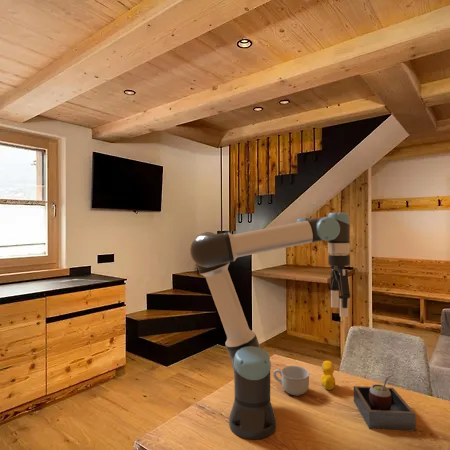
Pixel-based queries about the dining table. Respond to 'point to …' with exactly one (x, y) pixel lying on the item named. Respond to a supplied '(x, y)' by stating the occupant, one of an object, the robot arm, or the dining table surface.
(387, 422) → the tray
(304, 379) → the teacup
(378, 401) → the mate gourd
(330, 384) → the duckling
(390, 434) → the dining table surface
